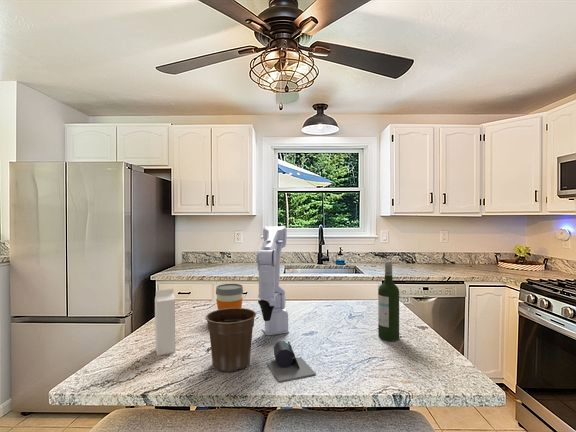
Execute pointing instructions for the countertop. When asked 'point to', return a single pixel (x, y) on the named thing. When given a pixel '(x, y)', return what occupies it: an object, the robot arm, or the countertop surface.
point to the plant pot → (230, 337)
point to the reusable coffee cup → (229, 296)
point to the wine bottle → (388, 307)
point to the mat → (291, 370)
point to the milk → (164, 322)
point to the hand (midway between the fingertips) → (266, 320)
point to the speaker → (284, 354)
